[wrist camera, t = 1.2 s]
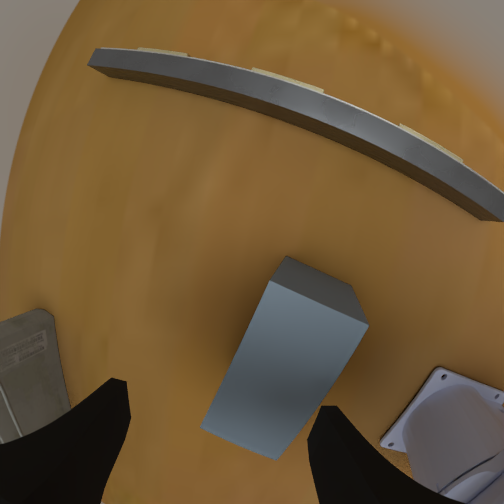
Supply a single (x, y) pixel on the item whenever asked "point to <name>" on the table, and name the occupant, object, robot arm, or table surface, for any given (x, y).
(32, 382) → the geiger counter
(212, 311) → the table surface
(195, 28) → the table surface
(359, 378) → the table surface
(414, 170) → the rail
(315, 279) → the box
